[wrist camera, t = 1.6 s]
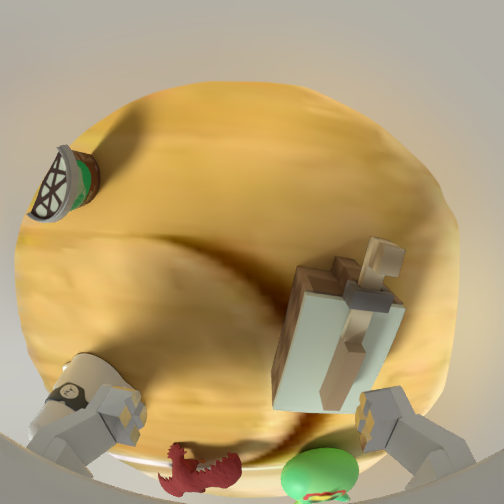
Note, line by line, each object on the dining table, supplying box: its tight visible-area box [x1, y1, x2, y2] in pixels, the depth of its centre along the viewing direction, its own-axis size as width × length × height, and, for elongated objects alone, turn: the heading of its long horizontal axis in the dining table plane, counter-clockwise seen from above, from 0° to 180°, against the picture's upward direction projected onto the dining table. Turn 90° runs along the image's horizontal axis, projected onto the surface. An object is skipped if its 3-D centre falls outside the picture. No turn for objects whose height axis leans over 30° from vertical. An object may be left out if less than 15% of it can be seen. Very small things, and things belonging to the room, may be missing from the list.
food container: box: [26, 145, 100, 223], centre depth 36 cm, size 12×6×10 cm, turn 140°
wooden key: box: [341, 236, 406, 344], centre depth 30 cm, size 13×2×4 cm, turn 170°
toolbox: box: [271, 256, 403, 406], centre depth 39 cm, size 22×14×13 cm, turn 170°
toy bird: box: [281, 448, 359, 504], centre depth 49 cm, size 18×17×15 cm
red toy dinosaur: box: [158, 443, 242, 497], centre depth 53 cm, size 28×9×15 cm
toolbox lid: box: [273, 292, 406, 414], centre depth 35 cm, size 19×14×6 cm
